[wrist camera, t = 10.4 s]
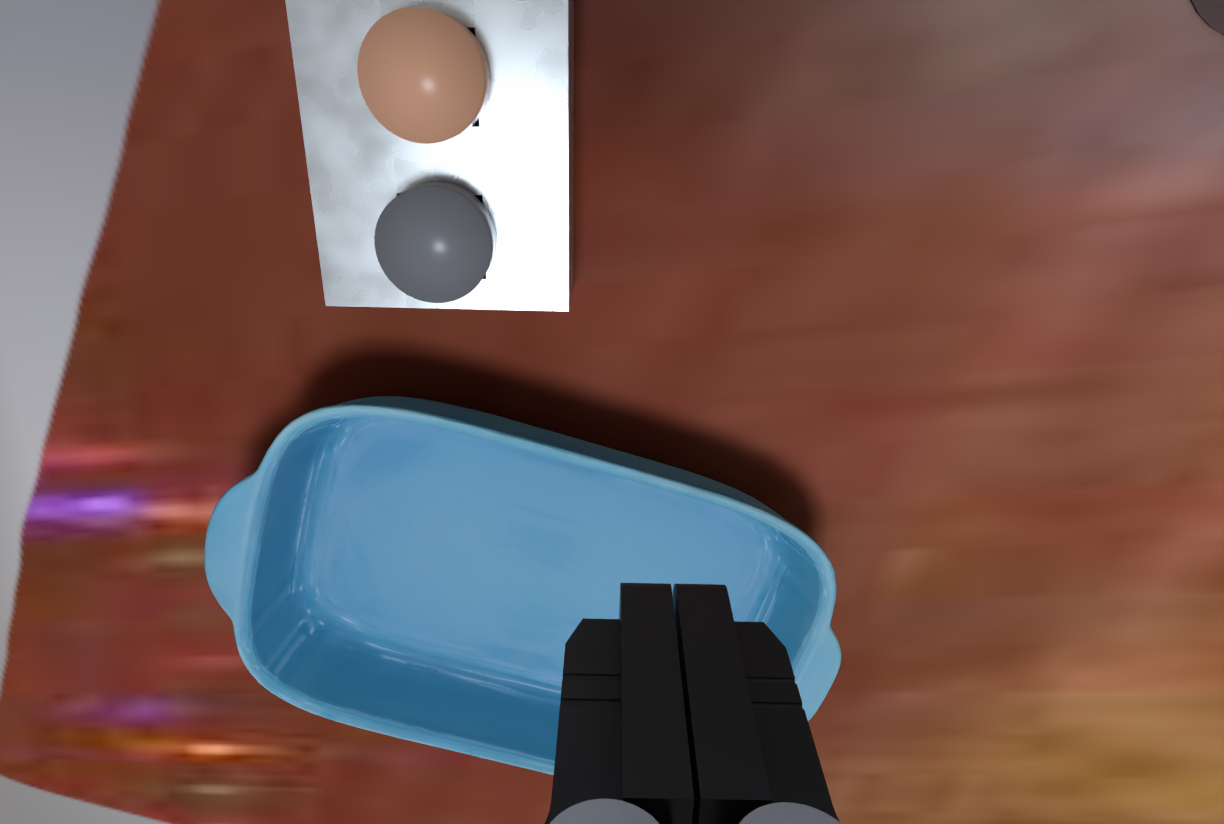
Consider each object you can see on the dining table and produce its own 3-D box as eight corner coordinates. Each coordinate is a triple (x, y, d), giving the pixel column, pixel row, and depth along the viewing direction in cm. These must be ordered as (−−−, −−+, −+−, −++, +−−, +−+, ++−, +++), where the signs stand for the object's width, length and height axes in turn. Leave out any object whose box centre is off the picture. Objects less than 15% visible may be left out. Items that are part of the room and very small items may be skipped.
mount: (574, -179, 34) (568, -217, 30) (573, 285, 43) (568, 311, 38) (304, -185, 34) (255, -225, 30) (356, 280, 43) (325, 305, 38)
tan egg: (502, 18, 37) (480, 8, 31) (506, 133, 39) (486, 144, 33) (394, 16, 37) (350, 4, 31) (403, 131, 39) (364, 142, 33)
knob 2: (507, 170, 40) (487, 188, 34) (510, 270, 42) (492, 304, 36) (406, 168, 40) (368, 185, 34) (414, 268, 42) (380, 301, 36)
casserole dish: (875, 491, 48) (915, 557, 42) (741, 742, 57) (757, 829, 50) (284, 314, 44) (226, 357, 37) (237, 615, 52) (183, 693, 46)
